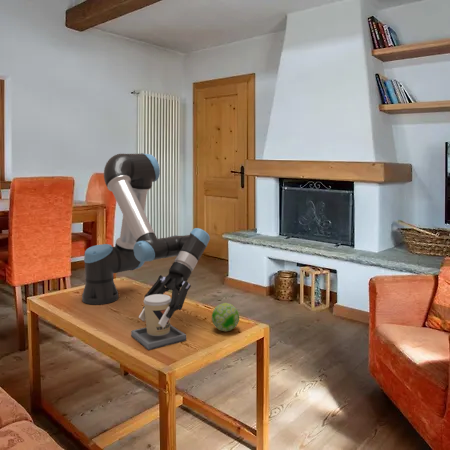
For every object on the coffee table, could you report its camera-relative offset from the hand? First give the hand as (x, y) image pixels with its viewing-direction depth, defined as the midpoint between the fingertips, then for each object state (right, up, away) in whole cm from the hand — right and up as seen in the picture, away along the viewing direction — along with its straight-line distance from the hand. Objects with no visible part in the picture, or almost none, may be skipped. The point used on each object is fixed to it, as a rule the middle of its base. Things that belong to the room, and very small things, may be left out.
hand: (151, 322), depth 154 cm
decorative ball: (+25, -5, +11) cm, 28 cm away
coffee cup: (+2, -4, +3) cm, 6 cm away
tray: (+2, -6, +4) cm, 7 cm away
